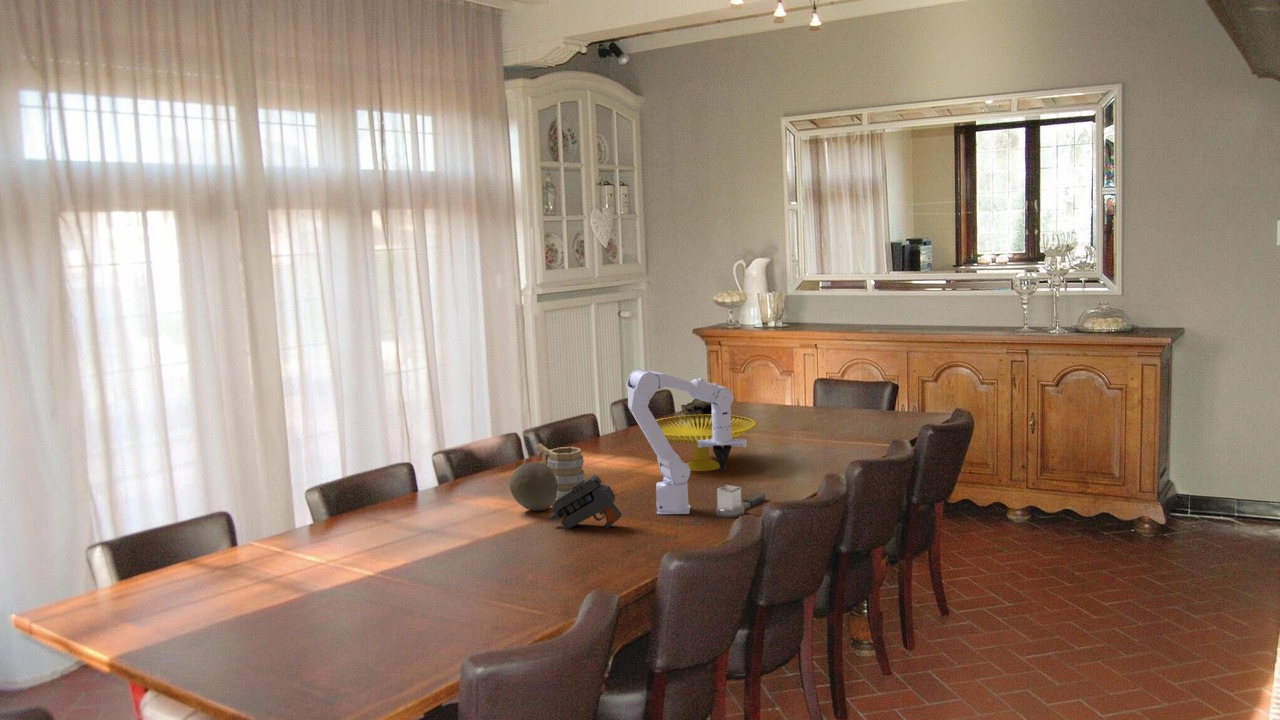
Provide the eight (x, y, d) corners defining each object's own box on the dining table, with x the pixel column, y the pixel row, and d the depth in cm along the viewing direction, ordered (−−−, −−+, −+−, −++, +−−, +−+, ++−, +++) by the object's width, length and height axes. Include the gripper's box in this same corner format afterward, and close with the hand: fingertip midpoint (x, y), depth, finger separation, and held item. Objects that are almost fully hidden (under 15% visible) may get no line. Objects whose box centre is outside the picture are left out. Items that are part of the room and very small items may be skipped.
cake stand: (701, 486, 334) (699, 441, 332) (621, 468, 364) (619, 426, 362) (783, 464, 360) (782, 421, 358) (702, 448, 390) (700, 409, 388)
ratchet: (735, 519, 295) (734, 502, 295) (711, 515, 300) (710, 499, 299) (772, 501, 313) (771, 485, 312) (749, 498, 317) (748, 482, 317)
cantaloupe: (539, 502, 323) (536, 455, 321) (568, 509, 313) (565, 461, 311) (502, 512, 313) (499, 464, 311) (531, 520, 303) (529, 470, 301)
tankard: (594, 491, 334) (592, 445, 332) (566, 499, 325) (563, 453, 323) (553, 482, 348) (550, 439, 346) (524, 490, 339) (522, 445, 337)
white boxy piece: (717, 508, 300) (717, 488, 299) (726, 504, 304) (725, 484, 303) (732, 510, 297) (731, 490, 296) (741, 506, 301) (740, 486, 300)
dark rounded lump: (717, 435, 437) (695, 408, 442) (735, 416, 431) (713, 389, 436) (680, 446, 414) (658, 418, 419) (699, 426, 408) (677, 398, 413)
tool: (623, 520, 289) (595, 474, 289) (567, 552, 293) (539, 507, 293) (627, 514, 295) (600, 469, 294) (573, 545, 299) (545, 501, 299)
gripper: (696, 428, 306) (697, 473, 308) (745, 428, 304) (746, 473, 305) (698, 424, 313) (700, 468, 315) (746, 423, 311) (747, 467, 312)
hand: (723, 470), depth 311 cm, fingers closed
